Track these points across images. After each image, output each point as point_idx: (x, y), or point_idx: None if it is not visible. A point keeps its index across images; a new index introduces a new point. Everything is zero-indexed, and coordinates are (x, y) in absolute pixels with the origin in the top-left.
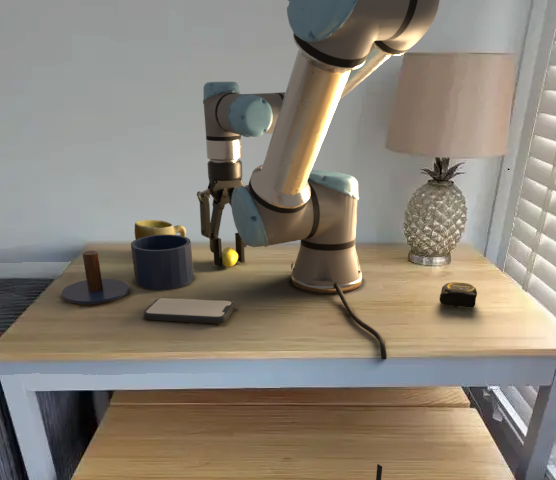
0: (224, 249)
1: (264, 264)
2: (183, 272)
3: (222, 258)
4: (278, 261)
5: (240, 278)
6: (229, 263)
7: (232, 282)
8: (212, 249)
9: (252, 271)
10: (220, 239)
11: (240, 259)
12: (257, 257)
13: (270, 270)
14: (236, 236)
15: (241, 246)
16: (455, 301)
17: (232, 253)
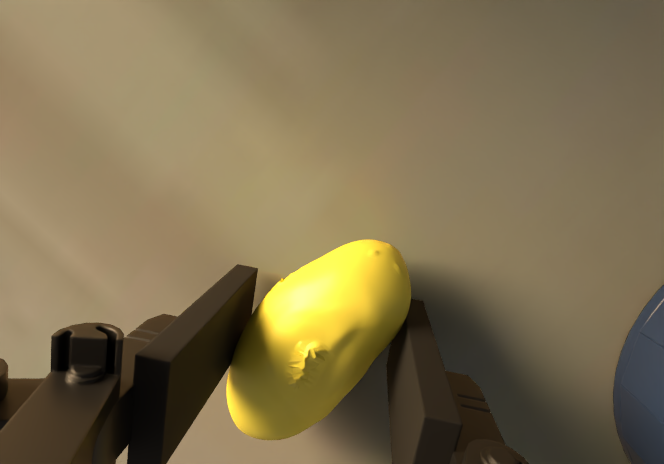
0: (299, 420)
1: (145, 175)
2: None
3: (406, 316)
4: (42, 157)
5: (443, 64)
6: (392, 246)
7: (540, 36)
8: (481, 403)
9: (290, 121)
10: (432, 416)
11: (249, 291)
12: (99, 308)
13: (189, 50)
14: (176, 428)
15: (216, 310)
16: None
17: (334, 290)
